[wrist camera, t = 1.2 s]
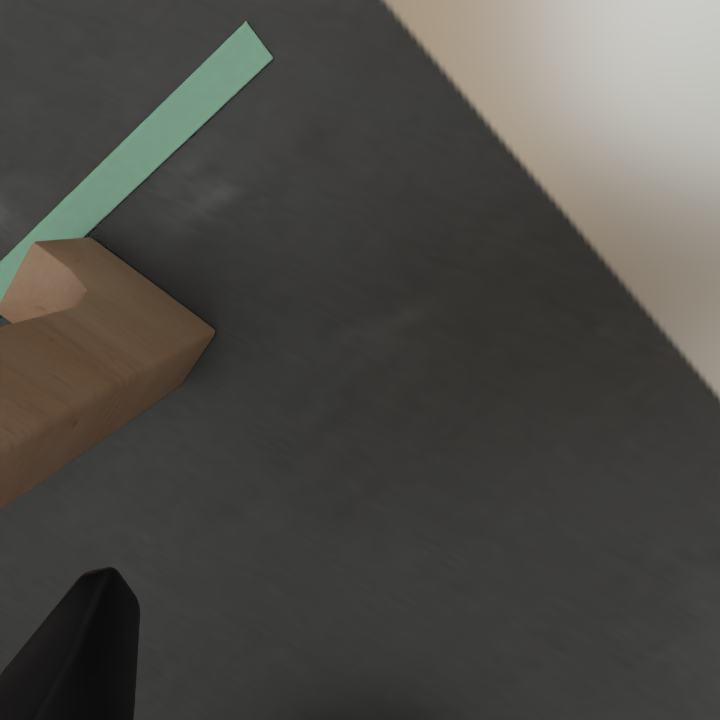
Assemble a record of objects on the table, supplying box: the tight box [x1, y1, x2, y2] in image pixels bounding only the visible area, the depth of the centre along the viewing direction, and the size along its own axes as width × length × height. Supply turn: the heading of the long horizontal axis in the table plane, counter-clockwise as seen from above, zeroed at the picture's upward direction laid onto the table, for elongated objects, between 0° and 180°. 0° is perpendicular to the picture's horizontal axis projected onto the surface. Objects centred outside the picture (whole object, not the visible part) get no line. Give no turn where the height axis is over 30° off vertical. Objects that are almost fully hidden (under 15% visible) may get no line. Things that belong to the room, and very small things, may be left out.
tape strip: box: [0, 22, 274, 316], centre depth 24 cm, size 22×2×1 cm, turn 128°
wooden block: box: [0, 237, 215, 510], centre depth 18 cm, size 7×3×15 cm, turn 54°
